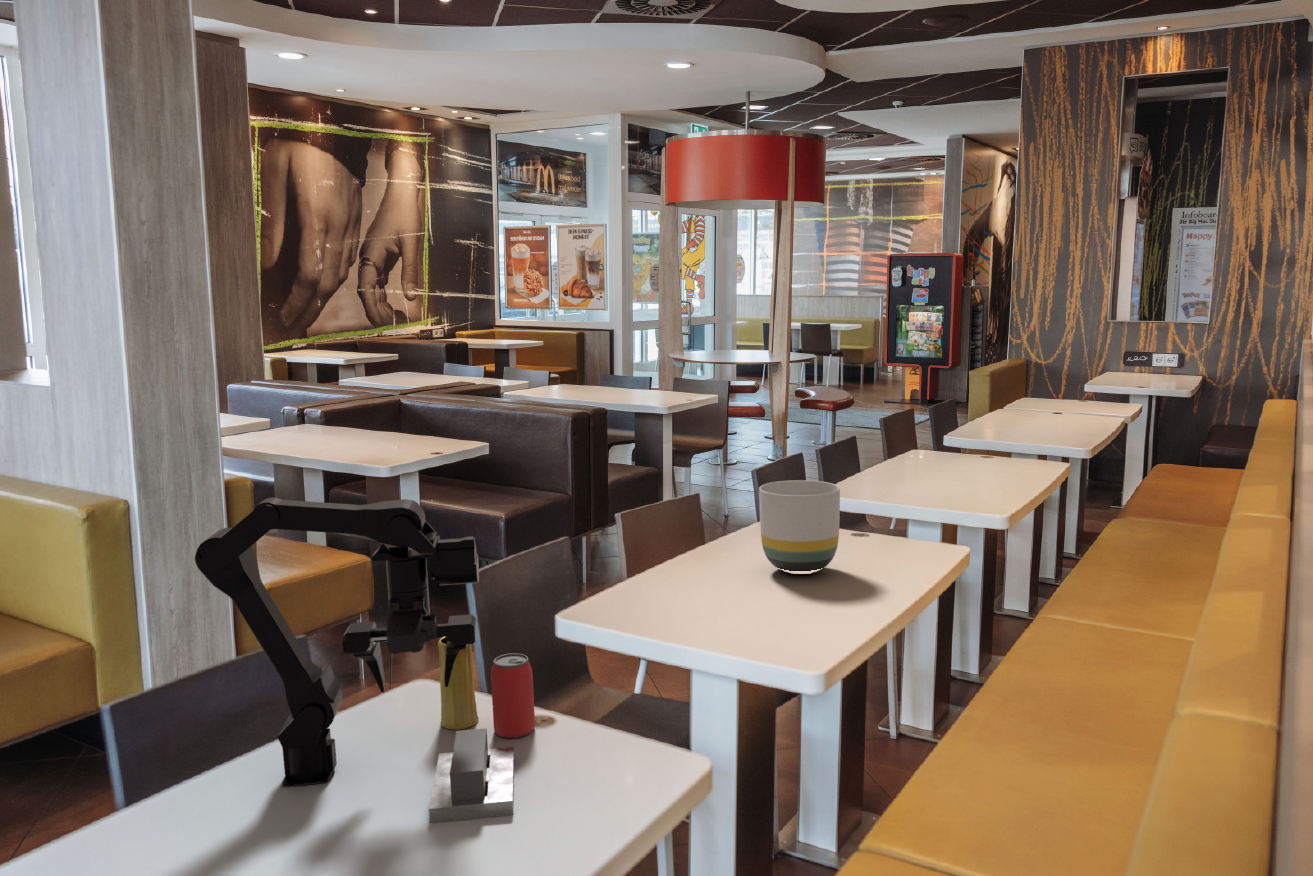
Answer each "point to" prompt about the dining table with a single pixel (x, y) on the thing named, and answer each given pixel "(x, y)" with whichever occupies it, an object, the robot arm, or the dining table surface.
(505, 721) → the beer can
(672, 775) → the dining table surface
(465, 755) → the grey rectangular block
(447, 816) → the mount plate
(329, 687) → the robot arm
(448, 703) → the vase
